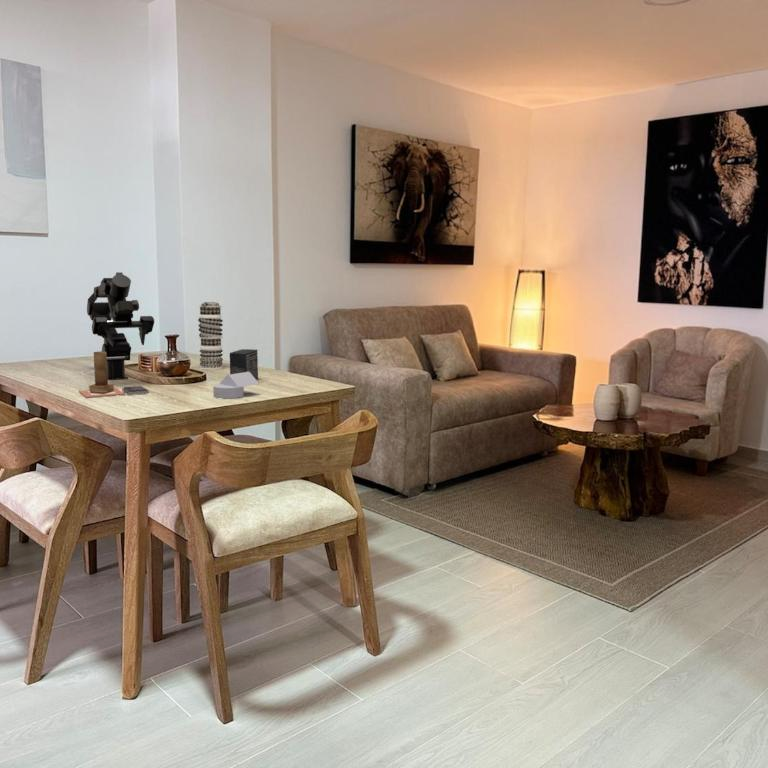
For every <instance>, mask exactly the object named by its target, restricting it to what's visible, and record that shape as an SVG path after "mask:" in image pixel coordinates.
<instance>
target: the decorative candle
mask: <svg viewBox="0 0 768 768" xmlns="http://www.w3.org/2000/svg"><path fill="white" fill-rule="evenodd" d="M221 308H222V306H221V305H220V304H219V303H218V302H214V301H205V302H204V301H203V302H202V303H201V305H200V306H199V318H198V319H197V321H198V322H199V324H198V331H199V332H200V333H198V336H199V337H198V338H199V339H200V346H199V347H200V350H199V353H200V354H199V356H200V359H199V362H200V363H199V365H200V367H199V369H201V370H206V371H208V370H209V371H210V370H211V371H214V370H222V369H223V364H224V363H223V360H224V359H223V355H224V354H223V353H222V352H223V351H224V350H223V349H222V348H223V347H222V346H223V345H222V338H223V333H222V332H223V328H221V327H223V325H224V324H223V321H224V320H223V319H222V314H221Z"/></svg>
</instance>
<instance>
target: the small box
mask: <svg viewBox="0 0 768 768" xmlns="http://www.w3.org/2000/svg"><path fill="white" fill-rule="evenodd" d="M258 358H259V357H258V349H253V348H251V349H246V348H245V349H244V348H243V349H242V348H241V349H238V350H235V351H232V352H229V375H230V374H236V373H243V372H250V373H251V374H252V375H253V377H254V378H255V379H256V380H258V379H259V366H258V365H259V364H258V363H259V361H258V360H259V359H258Z"/></svg>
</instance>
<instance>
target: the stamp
mask: <svg viewBox="0 0 768 768" xmlns="http://www.w3.org/2000/svg"><path fill="white" fill-rule="evenodd" d="M107 358H108V357H107V355H106V352H101V351H93V365H94V366H93V367H94V368H93V369H94V384H90V385H88V387H89V388H88V390H89V391H90V393H97V394H106V393H109V392H113V391H114V388H115V384H114V383H108V377H107Z"/></svg>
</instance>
